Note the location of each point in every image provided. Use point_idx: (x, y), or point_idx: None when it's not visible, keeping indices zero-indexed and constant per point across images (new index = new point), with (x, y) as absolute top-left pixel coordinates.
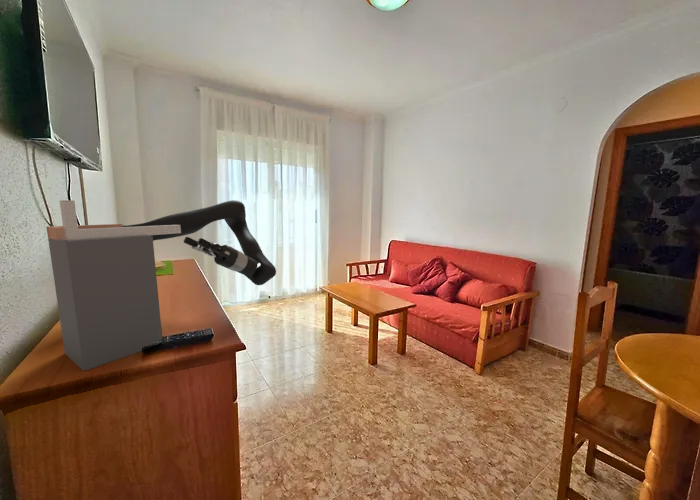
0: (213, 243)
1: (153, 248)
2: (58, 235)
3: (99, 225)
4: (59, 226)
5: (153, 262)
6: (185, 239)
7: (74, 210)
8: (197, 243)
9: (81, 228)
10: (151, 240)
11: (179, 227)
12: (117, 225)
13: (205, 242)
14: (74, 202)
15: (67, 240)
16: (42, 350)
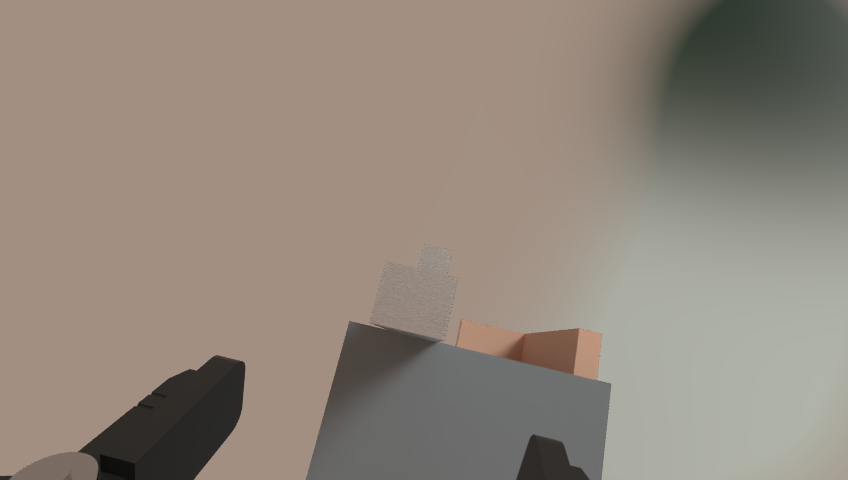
0: (31, 467)
1: (333, 381)
2: (457, 338)
3: (553, 333)
4: (526, 334)
5: (314, 451)
6: (525, 461)
7: (419, 266)
8: (235, 415)
9: (537, 341)
10: (344, 342)
11: (382, 279)
12: (572, 334)
13: (152, 408)
14: (423, 248)
15: None
16: None
